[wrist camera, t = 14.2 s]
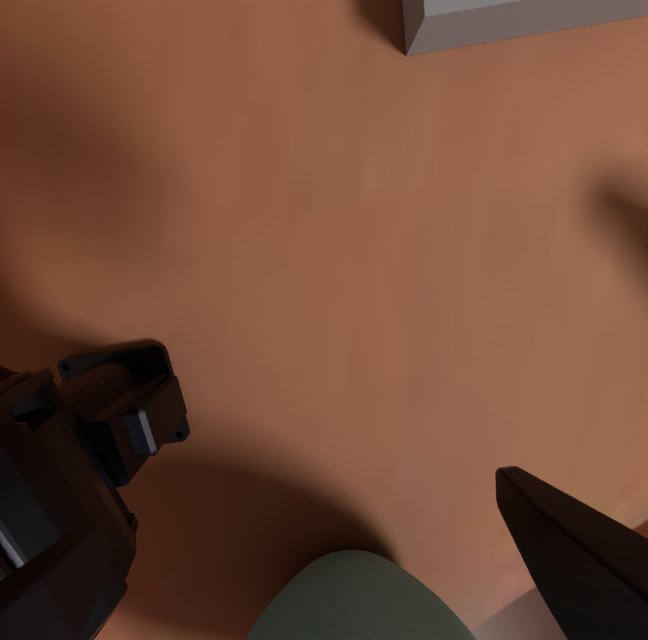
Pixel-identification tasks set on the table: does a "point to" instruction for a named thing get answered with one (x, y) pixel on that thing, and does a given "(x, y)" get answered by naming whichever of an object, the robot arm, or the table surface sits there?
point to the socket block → (503, 19)
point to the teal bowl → (357, 604)
